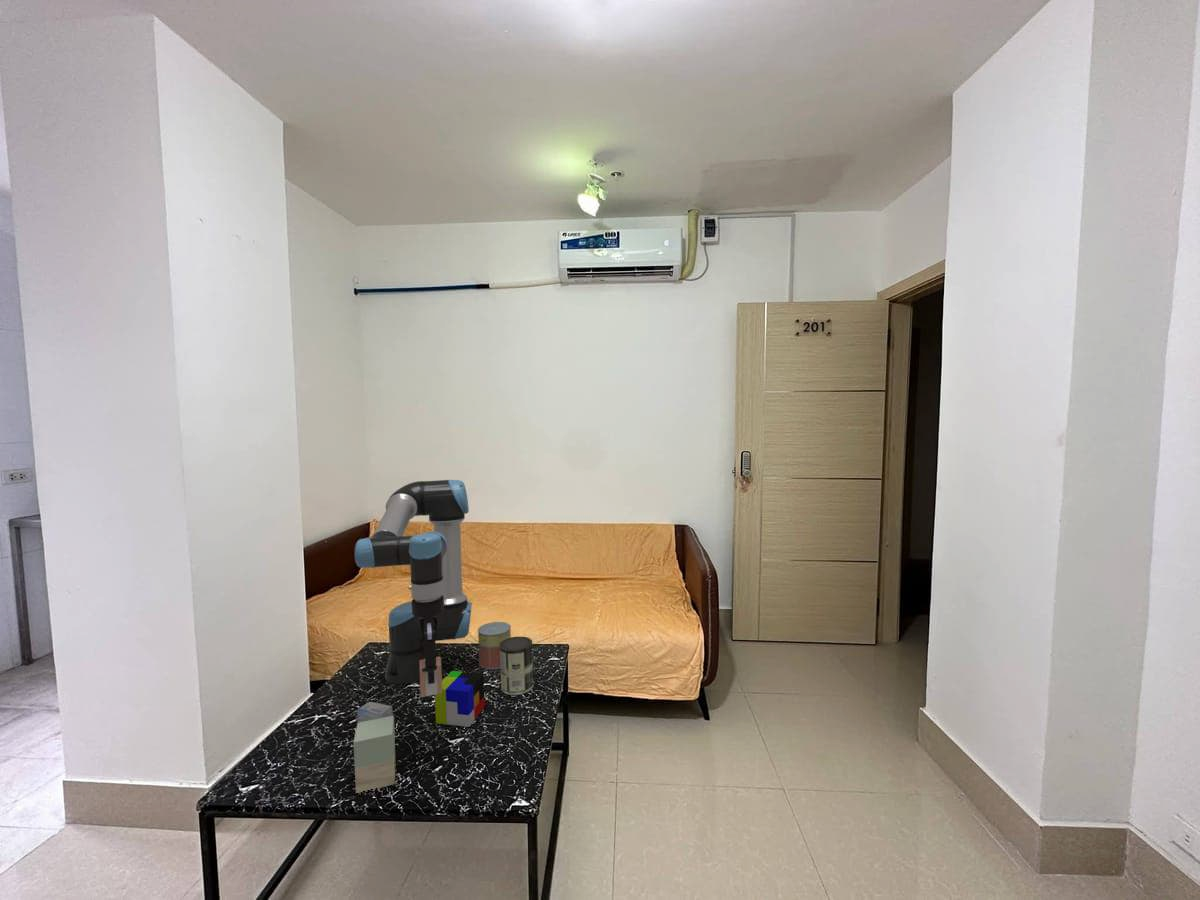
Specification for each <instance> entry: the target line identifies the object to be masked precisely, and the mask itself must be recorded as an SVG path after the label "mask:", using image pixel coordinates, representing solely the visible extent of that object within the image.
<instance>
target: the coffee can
mask: <svg viewBox="0 0 1200 900" xmlns="http://www.w3.org/2000/svg"><path fill="white" fill-rule="evenodd" d="M499 648H500V665H501V668H500V682H501V683H500V684H501V685H500V690H501V692H502V693H504V694H506V695H509V696H510V695H511V696H517V695H523V694H526V693H528V692H530V691H531V690H532V689H533V688H534V685H535V684H534V669H533V666H534V664H533V640H532V639H531V638H529V637H527V636H511V638H507V639H505V640H503V641H502V642H501V643H500V644H499Z"/></svg>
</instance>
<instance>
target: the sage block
mask: <svg viewBox="0 0 1200 900" xmlns="http://www.w3.org/2000/svg"><path fill="white" fill-rule="evenodd" d="M395 735H396V733H395V716H394V715H393V716H389V717H384V718H379V719H374V720H369V721H364V722H359V723H358V722H357V724H356V730H355V734H354V738H353V758H354V761H353V762H354V763H353V764H354V769H355V768H359V767H363V766H367V765H372V764H376V763H380V762H385V761H389V760H393V756H394V743H395V741H396V737H395ZM395 744H396V743H395Z"/></svg>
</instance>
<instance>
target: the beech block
mask: <svg viewBox="0 0 1200 900" xmlns="http://www.w3.org/2000/svg"><path fill="white" fill-rule="evenodd" d="M395 744H396V743H394V756H393V760H389V761H385V762H380V763H376V764H372V765H367V766H363V767H359V768H355V767H354V776H355V778H354V779H355V781H354V782H355V794H356V793H358V794H360V793H359V792H362V793H364V792H363V791H366V792H368V791H367V790H370V791H372V790H371V789H373V790H377V789H381V788H384V787H388V786H391V785H392V786H393V785H395V778H396V745H395ZM376 788H377V789H376Z"/></svg>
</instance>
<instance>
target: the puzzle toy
mask: <svg viewBox="0 0 1200 900" xmlns="http://www.w3.org/2000/svg"><path fill="white" fill-rule="evenodd" d="M434 701H435V703H434V705H435V707H434V708H435V711H434V712H435V724H439V725H440V724H441V725H447V726H449V725H450V726H456V727H457V726H458V727H459V726H460V727H466V728H468V727H470V726H471V725H472V724H473V722H475V720H476V719H477V718H478V716H479V715H480V713H481V712H482V711H483V709H484V708H485V707H486V705H485V702H486V701H485V673H480V672H472V671H471V672H469V671H467V672H466V671H459V670H458V671H456V670H452V671H451V672H450V673H448V675H446V676H445V678H443V679H442V693H440V694H435V695H434Z"/></svg>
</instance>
